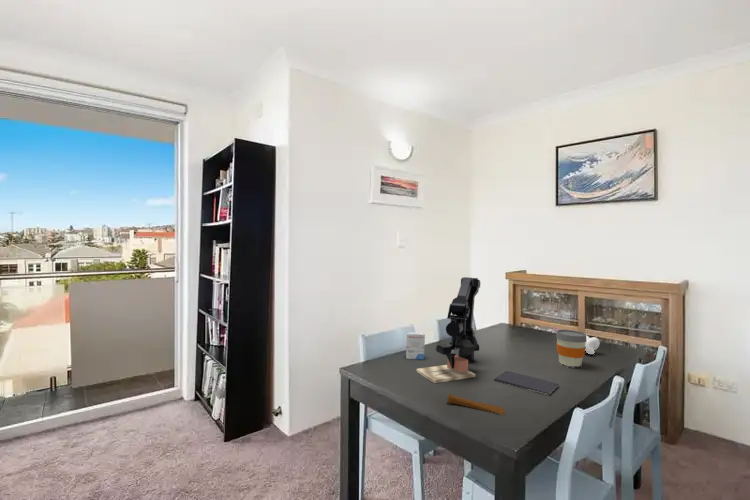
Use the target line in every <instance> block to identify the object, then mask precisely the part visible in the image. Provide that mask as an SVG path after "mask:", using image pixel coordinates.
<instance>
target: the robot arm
mask: <svg viewBox="0 0 750 500" xmlns="http://www.w3.org/2000/svg"><path fill="white" fill-rule="evenodd" d="M480 288H481V280H480V279H479V278H478V277H465V276H463V277H461V278H460V287H459V291H458V292H457V296H456V297H455V298H453V299H452V301H451V303H450V304H449V307H448V312H447V316H446V317H447V319H448V320H450V322H449V323H448V324H446V326H445V332H446V334H447V335H448V336H450V337H451V340H450V341H449V345H447V344H446V343H441V344H437V345H436V347H435V348H436V349H435V351H436V352H437V353H439V354H441V355H443V356H446V358H448V360H449V363H450V365H451V368H454V357H455V355H457V354H456V353H455V351H458V356H460V357H462V358H464V359H467V360H468V363H474V362H477V360H476V359H475V352H477V351H480V345H479V343H478V340H477V337H476V333H475V330H474V327H473V321H474V309H475V297H476V296H477V295H478V294H479V290H480Z"/></svg>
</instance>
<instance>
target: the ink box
mask: <svg viewBox="0 0 750 500" xmlns="http://www.w3.org/2000/svg"><path fill="white" fill-rule="evenodd" d="M425 335H426V334H425V332H413V331H412V332H411V331H410V332H409V331H408V332H406V346H405V347H406V353H405V357H406V359H409V360H425V348H426V347H425V343H426V342H425V338H426V337H425Z"/></svg>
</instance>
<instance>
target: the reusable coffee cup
mask: <svg viewBox="0 0 750 500" xmlns="http://www.w3.org/2000/svg"><path fill="white" fill-rule="evenodd" d="M586 335H587V334H586V333H584V332H581V331H577V330H572V329H571V330H570V329H558V330H557V331H556V336H555V338H556V343H555V344H556V351H557V354H558V363H559V362H560V363H561V364H564V365H567V366H580V365H581V366H582V363H583V358H584V357H585V355H586V352H585V349H586V347H585V343H586V341H587V340H586Z"/></svg>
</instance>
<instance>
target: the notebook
mask: <svg viewBox="0 0 750 500" xmlns="http://www.w3.org/2000/svg"><path fill="white" fill-rule="evenodd" d="M493 381H494V382H497V381H498V382H497V383H500V382H502V383H501V384H504V383H505V385H507V384H510V385H509V386H511V385H513V386H512V387H515V386H517V387H516V388H518V387H522V388H526V389H531V390H535V391H539V392H543V393H547V394H550V393H551V392H552V391H553V390H554V389H555V388H556V387H557V386H558V387H559V386H560V383H557V382H553V381H549V380H545V379H541V378H538V377H533V376H529V375H525V374H523V373H522V374H521V373H517V372H513V371H510V370H506V371H504V372H502V373H501V374H499V375H497V376H496V377H495V378H494V379H493ZM522 388H521V389H522ZM526 389H525V390H526Z"/></svg>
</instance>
